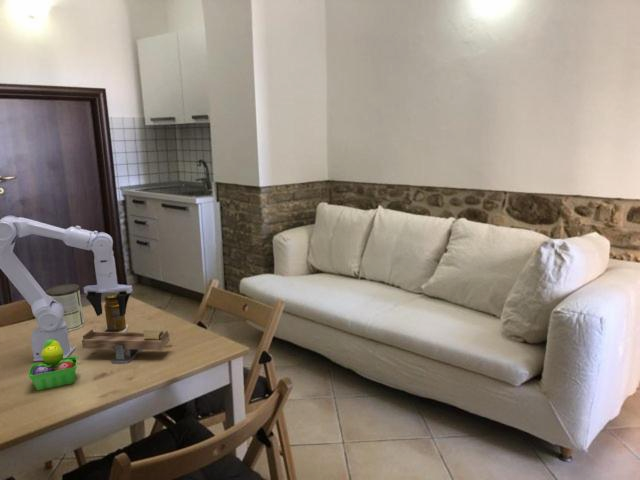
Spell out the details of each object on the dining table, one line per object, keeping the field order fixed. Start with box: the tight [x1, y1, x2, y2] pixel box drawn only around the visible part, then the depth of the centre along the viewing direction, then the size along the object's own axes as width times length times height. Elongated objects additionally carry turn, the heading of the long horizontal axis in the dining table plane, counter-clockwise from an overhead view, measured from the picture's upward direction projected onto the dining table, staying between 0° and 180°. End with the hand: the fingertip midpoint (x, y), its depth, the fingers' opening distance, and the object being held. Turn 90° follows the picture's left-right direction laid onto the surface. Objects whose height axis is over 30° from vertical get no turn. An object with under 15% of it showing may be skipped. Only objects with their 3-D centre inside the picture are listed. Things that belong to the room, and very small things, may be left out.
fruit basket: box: [27, 339, 78, 391], centre depth 135 cm, size 11×9×11 cm
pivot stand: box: [111, 344, 142, 364], centre depth 150 cm, size 5×10×5 cm, turn 175°
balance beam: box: [81, 329, 171, 351], centre depth 150 cm, size 24×7×4 cm, turn 85°
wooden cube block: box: [142, 324, 165, 340], centre depth 148 cm, size 4×4×4 cm
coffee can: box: [45, 283, 85, 332], centre depth 174 cm, size 10×10×14 cm
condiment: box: [103, 293, 130, 332], centre depth 170 cm, size 7×8×12 cm
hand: (111, 314), depth 156 cm, fingers open, 7 cm apart
